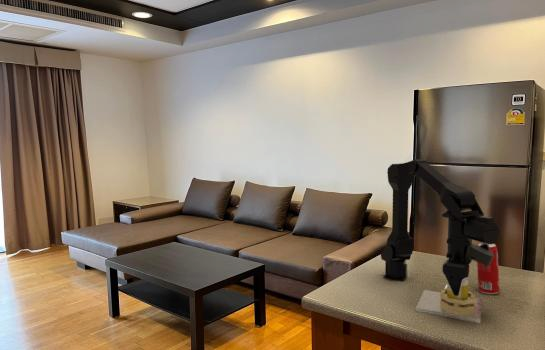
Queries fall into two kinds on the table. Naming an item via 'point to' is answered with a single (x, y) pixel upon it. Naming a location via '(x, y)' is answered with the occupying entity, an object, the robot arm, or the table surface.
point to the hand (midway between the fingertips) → (457, 289)
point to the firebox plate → (450, 305)
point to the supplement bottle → (462, 293)
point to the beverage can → (489, 273)
